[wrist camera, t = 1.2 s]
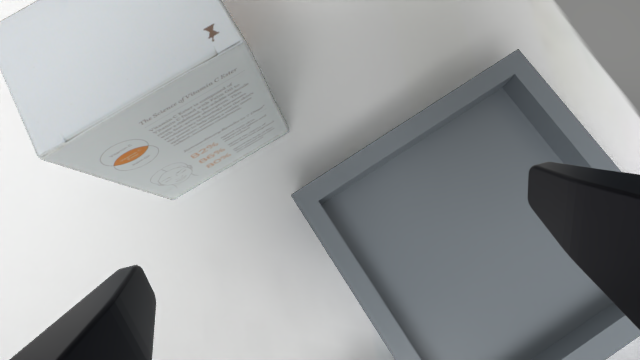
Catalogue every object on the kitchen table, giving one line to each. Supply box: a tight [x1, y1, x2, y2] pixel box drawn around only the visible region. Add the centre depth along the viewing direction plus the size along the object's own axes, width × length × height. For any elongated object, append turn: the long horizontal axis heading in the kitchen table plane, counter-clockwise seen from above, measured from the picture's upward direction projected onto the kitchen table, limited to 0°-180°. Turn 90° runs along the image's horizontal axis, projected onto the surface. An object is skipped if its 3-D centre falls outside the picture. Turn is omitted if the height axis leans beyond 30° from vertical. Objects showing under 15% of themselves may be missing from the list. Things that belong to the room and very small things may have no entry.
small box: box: [0, 0, 289, 200], centre depth 19 cm, size 8×6×10 cm
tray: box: [291, 49, 640, 360], centre depth 21 cm, size 14×14×2 cm
